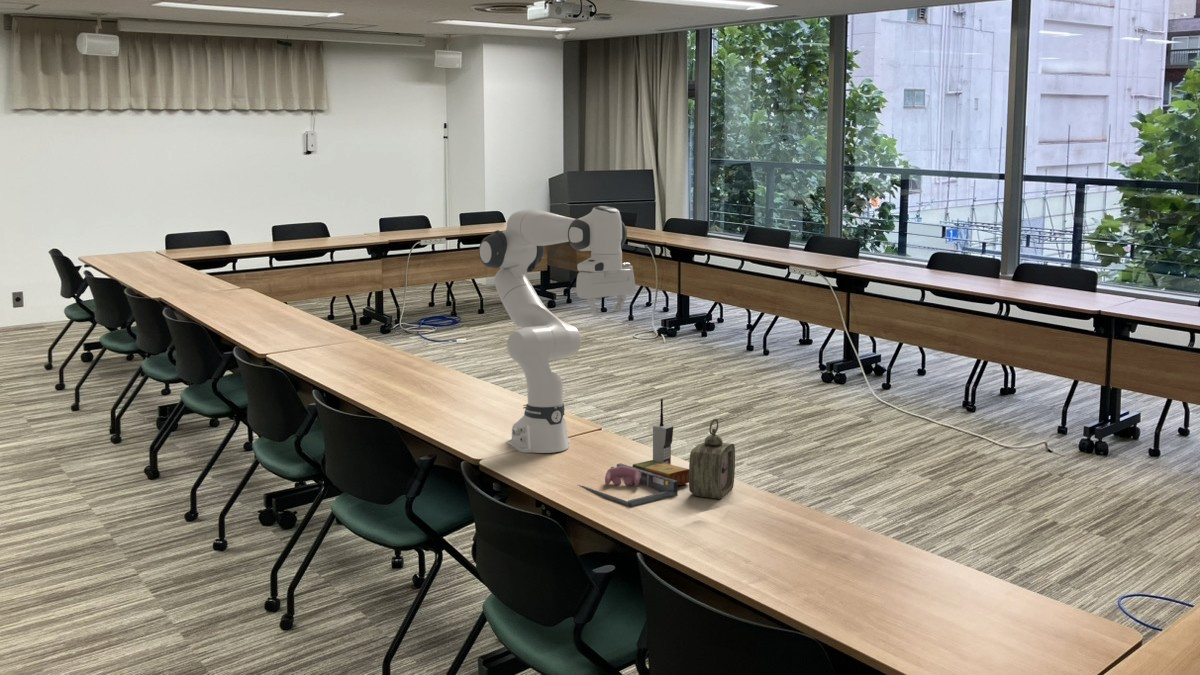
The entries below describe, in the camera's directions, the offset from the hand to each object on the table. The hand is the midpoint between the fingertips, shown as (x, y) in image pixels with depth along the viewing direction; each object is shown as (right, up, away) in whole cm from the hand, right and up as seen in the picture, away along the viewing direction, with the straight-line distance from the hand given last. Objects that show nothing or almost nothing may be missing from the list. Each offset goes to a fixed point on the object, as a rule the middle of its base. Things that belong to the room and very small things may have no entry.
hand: (606, 312), depth 293 cm
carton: (+20, -52, 0) cm, 56 cm away
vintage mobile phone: (+17, -51, +17) cm, 56 cm away
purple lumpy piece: (+4, -50, -4) cm, 50 cm away
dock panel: (+5, -50, -5) cm, 51 cm away
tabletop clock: (+29, -55, -6) cm, 62 cm away
